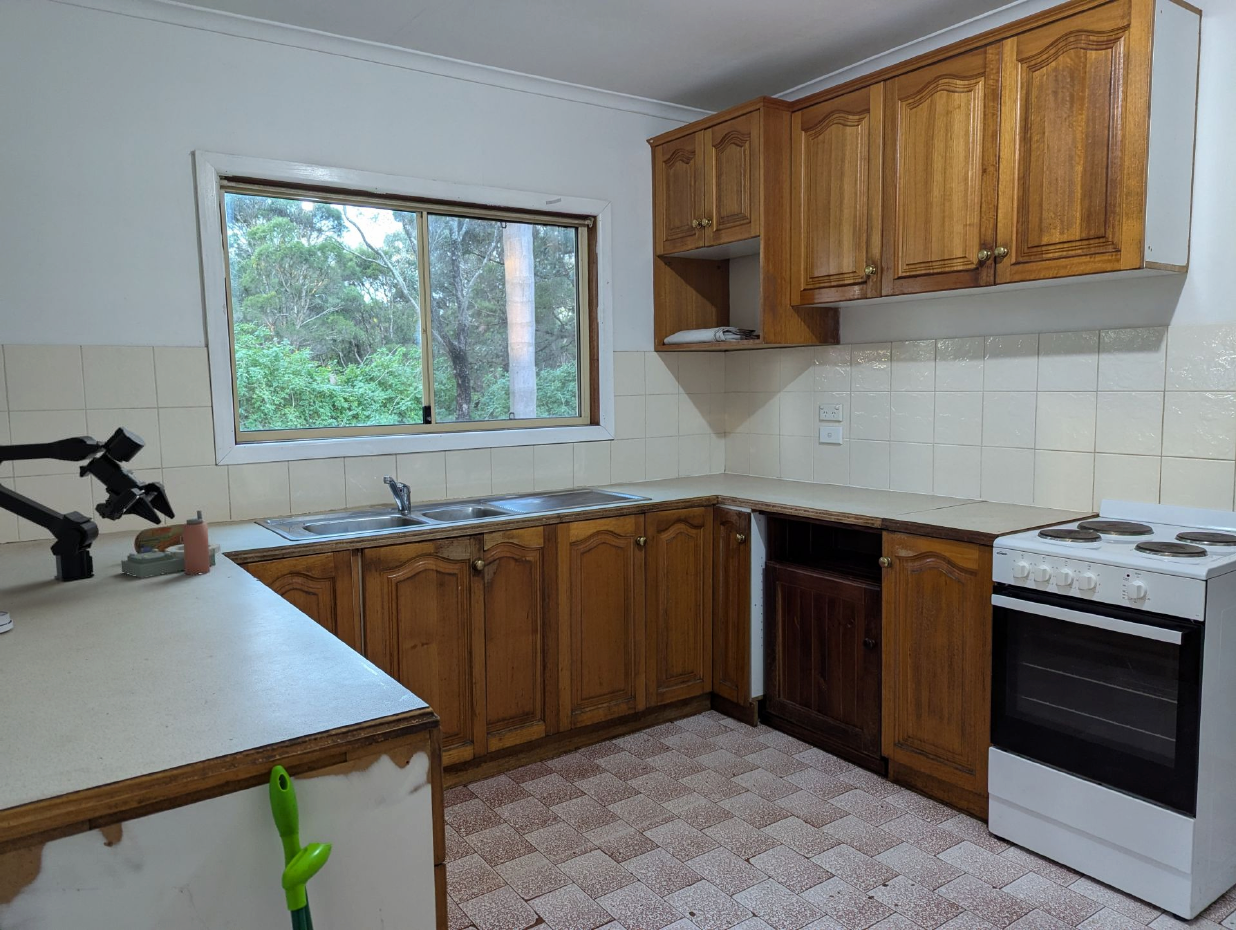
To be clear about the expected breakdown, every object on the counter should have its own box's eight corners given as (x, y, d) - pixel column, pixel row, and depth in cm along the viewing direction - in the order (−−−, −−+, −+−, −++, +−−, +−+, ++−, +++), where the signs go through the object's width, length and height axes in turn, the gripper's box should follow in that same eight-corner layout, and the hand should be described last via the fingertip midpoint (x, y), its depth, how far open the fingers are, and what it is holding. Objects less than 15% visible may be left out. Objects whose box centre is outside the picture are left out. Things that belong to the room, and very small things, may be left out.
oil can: (192, 575, 204) (188, 513, 202) (181, 573, 207) (177, 511, 206) (214, 571, 208) (210, 510, 207) (203, 569, 211) (199, 509, 210)
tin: (139, 562, 221) (136, 530, 220) (133, 560, 223) (131, 529, 222) (196, 552, 233) (195, 522, 232) (191, 551, 235) (189, 521, 234)
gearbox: (142, 578, 201) (141, 558, 201) (120, 572, 209) (119, 553, 208) (228, 563, 218) (227, 544, 217) (205, 558, 225) (204, 540, 225)
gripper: (106, 496, 211) (157, 538, 214) (71, 506, 193) (127, 552, 196) (138, 463, 212) (189, 506, 215) (106, 470, 194) (162, 516, 196)
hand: (167, 520), depth 205 cm, fingers open, 9 cm apart
